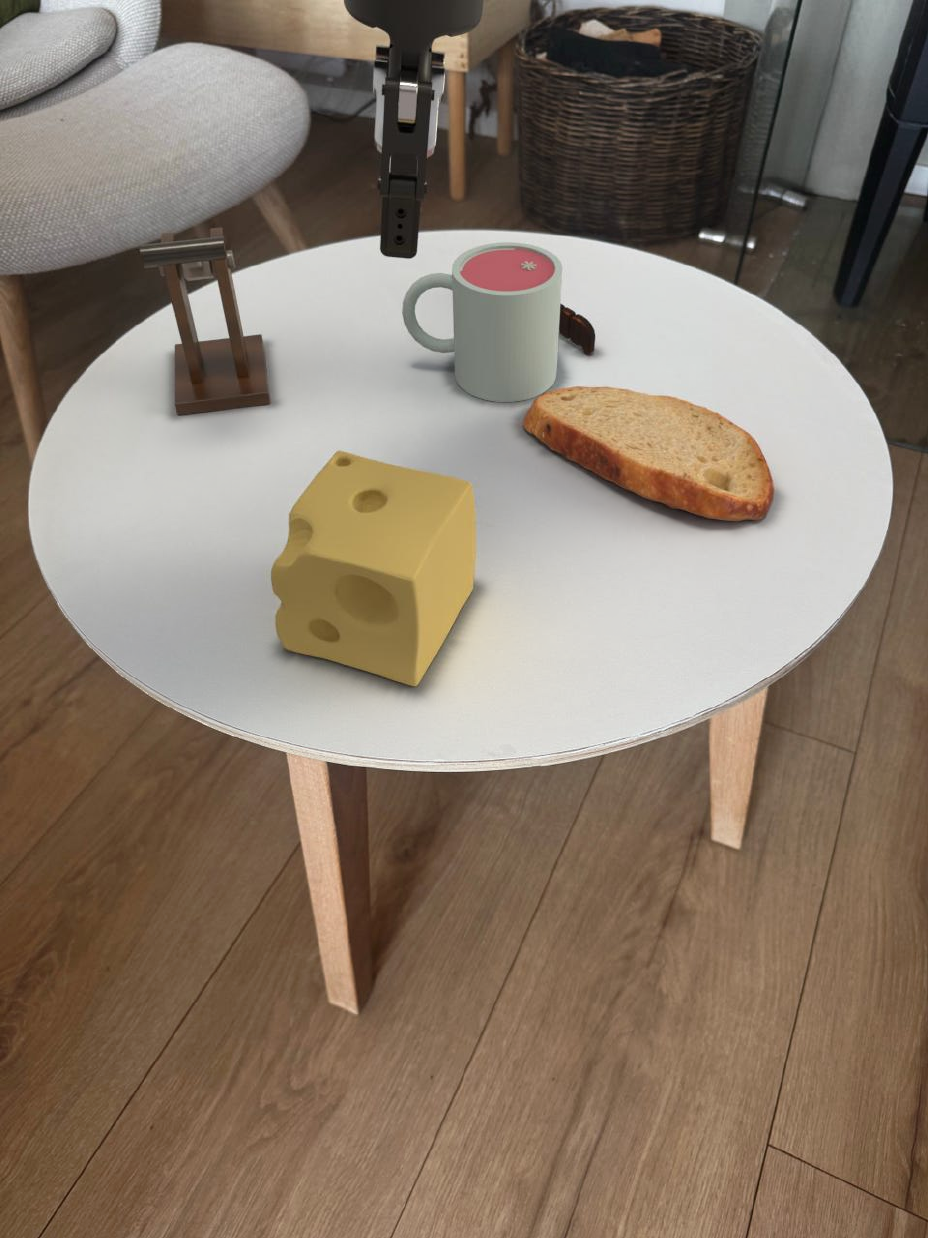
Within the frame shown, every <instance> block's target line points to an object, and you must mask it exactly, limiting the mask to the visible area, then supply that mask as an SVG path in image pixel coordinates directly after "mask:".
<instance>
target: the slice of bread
mask: <svg viewBox="0 0 928 1238" xmlns="http://www.w3.org/2000/svg"><path fill="white" fill-rule="evenodd" d="M522 427H523V429H525V430H526V432H527V434H530V435H533V436H534V437H536V438H537V439H538V440H539V441H540V442H541V443H542V444H544V445H546V446H547V447H548V448H549V450H551V451H552V452H556V453H558V454H560V455H561V456H562V457H564V458H565V459H566V460H569V461H571V462H575V463H576V464H578V465H579V466H581V467H582V468H583V469H585V470H588V471H591V472H593V473H594V474H596V475H597V476H599V477H600V478H602V479H604V480H606V481H608V482H611V483H613V484H615V485H617V486H619V487H620V488H622V489H623V490H627V491H630V492H633V493H634V494H636V495H638V496H639V497H641V498H643V499H646V500H649V501H653V502H656V503H657V502H658V503H662V504H664V505H666V506H667V507H669V508H670V509H672V510H673V509H674V510H683V511H686V512H688V513H691V514H694V515H697V516H701V517H703V518H707V519H713V520H717V521H718V520H720V521H727V522H740V521H746V520H750V521H759V520H761V519H763V518H765V517H766V516H767V514H768V511H769V508H770V507H771V505H772V502H773V499H774V496H775V485H774V480H773V477H772V473H771V470H770V468H769V464H768V461H767V460H766V458H765V456H764V454H763V452H762V450H761V447H760V446H759V444H758V443H757V441H756V440H755V438H754V437H753V436H752V434H751V433H749V432H748V431H746V430H745V429H743V428H742V427H740V426H738V425H736V424H735V423H733V421H731V420H730V419H728V418H726V417H724V416H723V415H722V414H720V413H719V412H717V411H716V412H715V411H712V410H710V409H708V408H707V407H705V406H701V405H696V404H694V403H692V402H690V401H688V400H684V399H680V398H678V397H676V396H669V395H663V394H661V395H654V394H649V393H646V392H640V391H634V390H631V389H628V388H620V387H619V388H618V387H613V386H612V387H611V386H580V385H578V386H577V385H576V386H572V387H561V388H557V389H555V390H550V391H545V392H544V393H542V394H540V395H539V396H536V397H535V399H534V400H533V401H532V403H531V405H530V406H529V408H528V409H527V411H526V413H525V416H524V417H523V421H522Z"/></svg>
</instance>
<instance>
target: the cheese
mask: <svg viewBox="0 0 928 1238" xmlns="http://www.w3.org/2000/svg"><path fill="white" fill-rule="evenodd" d="M474 495H475V494H474V490H473V484H472V482H471V481H467V480H464V479H460V478H458V477H453V476H449V475H445V474H440V473H435V472H429V471H425V470H419V469H416V468H415V469H414V468H409V467H404V466H399V465H395V464H391V463H387V462H383V461H379V460H376V459H372V458H368V457H364V456H361V455H357V454H354V453H352V452H351V453H350V452H346V451H342V450H337V451H336V452H335V453H334V454H333V455H332V457H330V459H329V460H328V461H327V462H326V463H325V465H324V466H323V467H322V468H321V470H320V471H319V472H318V473H317V474H316V475H315V477H314V478H313V479H312V481H311V482H310V483H309V484H308V486H306V489H305V490H304V491H303V492H302V494H301V495H300V496H299V497H298V499H297V500H296V502H294V504H293V506H292V508H291V509H290V511H289V514H288V537H287V540H286V543H285V547H284V549H283V550H282V551H281V553H280V554H279V555H278V557H277V558H276V559H275V560H274V562H273V564H272V567H271V570H270V581H271V587H272V591H273V594H274V595H275V596H276V597H278V599H279V600H280V601H281V603H280V606H279V608H278V609H277V611H276V613H275V623H274V624H275V631H276V635H277V637H278V639H279V641H280V644H282V646H283V648H284V649H285V650H286V651H290V652H294V653H297V654H301V655H306V656H311V657H316V658H320V659H321V658H322V659H325V660H329V661H332V662H335V663H338V664H341V665H344V666H348V667H351V668H354V669H358V670H361V671H364V672H367V673H370V674H374V675H376V676H380V677H383V678H386V679H389V680H392V681H395V682H398V683H401V684H404V685H408V686H411V687H417V686H418V685H419V684H420V682H421V681H422V679H423V677H424V675H425V674H426V672H427V670H428V669H429V667H430V665H431V663H432V662H433V660H434V659H435V657H436V656H437V653H438V652H439V650H440V649H441V647H442V645H443V643H444V641H445V640H446V638H447V637H448V635H449V632H450V631H451V630H452V627H453V626H454V624H455V621H456V619H457V618H458V616H459V614H460V612H461V610H462V608H463V607H464V605H465V603H466V602H467V600H468V598H469V596H470V595H471V593H472V592H473V590H474V581H475V572H476V571H475V569H476V555H477V554H476V553H477V552H476V550H477V544H476V543H477V526H476V525H477V523H476V521H477V520H476V518H477V517H476V504H475V496H474Z"/></svg>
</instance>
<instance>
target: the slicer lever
mask: <svg viewBox="0 0 928 1238" xmlns="http://www.w3.org/2000/svg"><path fill="white" fill-rule="evenodd" d="M224 238H225V236H224V237H223V236H222V237H213V238H211V237H206V238H205V237H204V238H195V239H186V240H175V241H174V242H165V243H161V242H157V243H156V242H155V243H147V244H140V245H139V248H138V249H139V255H140V260H141V263H142V266H143V268H144V269H147V268H148V269H149V268H157V267H158V268H159V266H167V265H176V264H181V268H182V272H183V276H184V280H185V281H188V282H189V281H191V282H192V281H199V280H207V279H208V280H209V279H214V278H215V274H214V269H213V264H212V262H213V261H214V260H223V259H227V258H228V257H227V251H228V249H227V250H226V248H227V243H226V239H224ZM225 243H226V244H225Z"/></svg>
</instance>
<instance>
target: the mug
mask: <svg viewBox="0 0 928 1238" xmlns="http://www.w3.org/2000/svg"><path fill="white" fill-rule="evenodd" d="M562 281H563V264H562V262H561V260H560V259H559V258H558V257H557V255H555V254H554V253H552V252H551V251H549V250H547V249H545V248H543V247H540V246H537V245H533V244H529V243H522V242H514V241H513V242H512V241H511V242H509V241H507V242H504V241H503V242H493V243H487V244H481V245H477V246H475V247H472V248H470V249H468V250H466V251H464V252H462V253H461V254H460V255H458V256H457V257H456V258H455V260H454V261H453V262H452V266H451V274H450V273H444V272H436V273H428V274H426V275H424V276H421V277H419V278H418V279H417V280H416V281H414V282H413V283H412V284H411V285H410V287H409V288H408V289H407V291H406V292H405V295H404V298H403V301H402V311H401V314H402V319H403V323H404V326H405V328H406V330H407V332H408V333H409V335H410V336H411V337H412V339H413V340H414V341H415V342H416V343H417V344H419V345H420V346H421V347H422V348H425V349H426V350H429V351H431V352H435V353H441V354H449V353H453V355H454V357H453V359H454V377H455V381H456V383H457V385H458V386H459V387H460V388H461V389H462V390H463V391H464V392H466V393H468V395H471V396H473V397H476V398H478V399H481V400H484V401H490V402H497V403H516V402H521V401H527V400H531V399H533V398H537V397H539V396H541V395H543V394H544V393H546V392H548V390H549V389H550V388H551V387H552V386H553V385H554V383H555V382H556V378H557V369H558V368H557V367H558V355H559V354H558V353H559V352H558V351H559V335H560V333H559V318H560V303H561V301H562V300H561V299H562V298H561V297H562ZM435 288H436V289H438V288H441V289H447V290H450V291H452V318H453V319H452V320H453V321H452V322H453V337H452V338H447V339H443V338H437V337H435V336H433V335H430V334H429V333H428V332H426V331H425V330H424V329H423V328H422V327H421V325H420V324H419V322H418V320H417V316H416V305H417V302H418V300H419V298H420V297H421V296H422V295H423V294H424V293H425V292H426V291H428V290H431V289H435Z"/></svg>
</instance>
